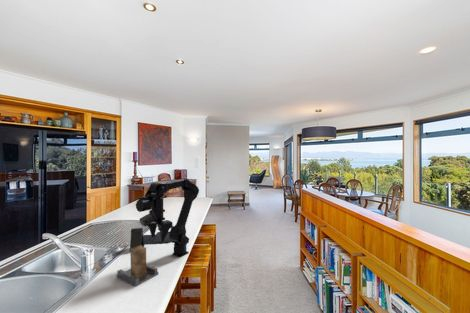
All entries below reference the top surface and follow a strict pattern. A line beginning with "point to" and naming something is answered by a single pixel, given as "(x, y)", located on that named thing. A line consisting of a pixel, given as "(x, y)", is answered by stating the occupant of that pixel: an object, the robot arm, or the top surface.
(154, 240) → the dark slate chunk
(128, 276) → the bottom track
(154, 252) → the top surface
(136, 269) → the walnut block
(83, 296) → the top surface
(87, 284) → the top surface
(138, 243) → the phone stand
